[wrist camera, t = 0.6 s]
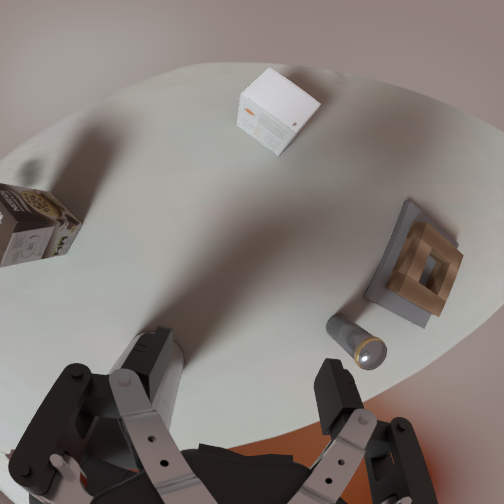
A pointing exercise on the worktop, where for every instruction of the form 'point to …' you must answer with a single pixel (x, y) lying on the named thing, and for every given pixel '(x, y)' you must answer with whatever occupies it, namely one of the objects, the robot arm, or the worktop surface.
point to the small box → (274, 110)
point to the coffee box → (33, 225)
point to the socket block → (413, 262)
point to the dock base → (385, 268)
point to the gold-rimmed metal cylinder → (357, 342)
